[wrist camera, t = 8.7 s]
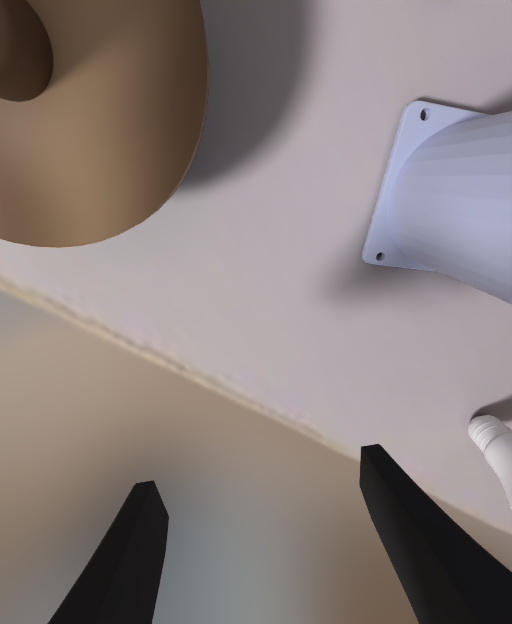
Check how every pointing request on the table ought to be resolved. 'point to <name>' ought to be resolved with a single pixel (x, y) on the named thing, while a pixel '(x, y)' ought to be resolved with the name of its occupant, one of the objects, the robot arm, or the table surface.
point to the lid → (96, 114)
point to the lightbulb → (495, 447)
